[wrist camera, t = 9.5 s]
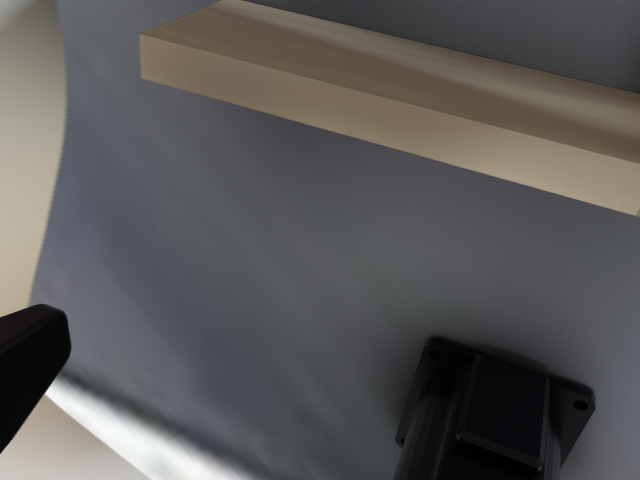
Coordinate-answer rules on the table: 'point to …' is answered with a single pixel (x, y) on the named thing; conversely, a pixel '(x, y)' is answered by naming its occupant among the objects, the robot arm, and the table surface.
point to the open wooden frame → (408, 97)
